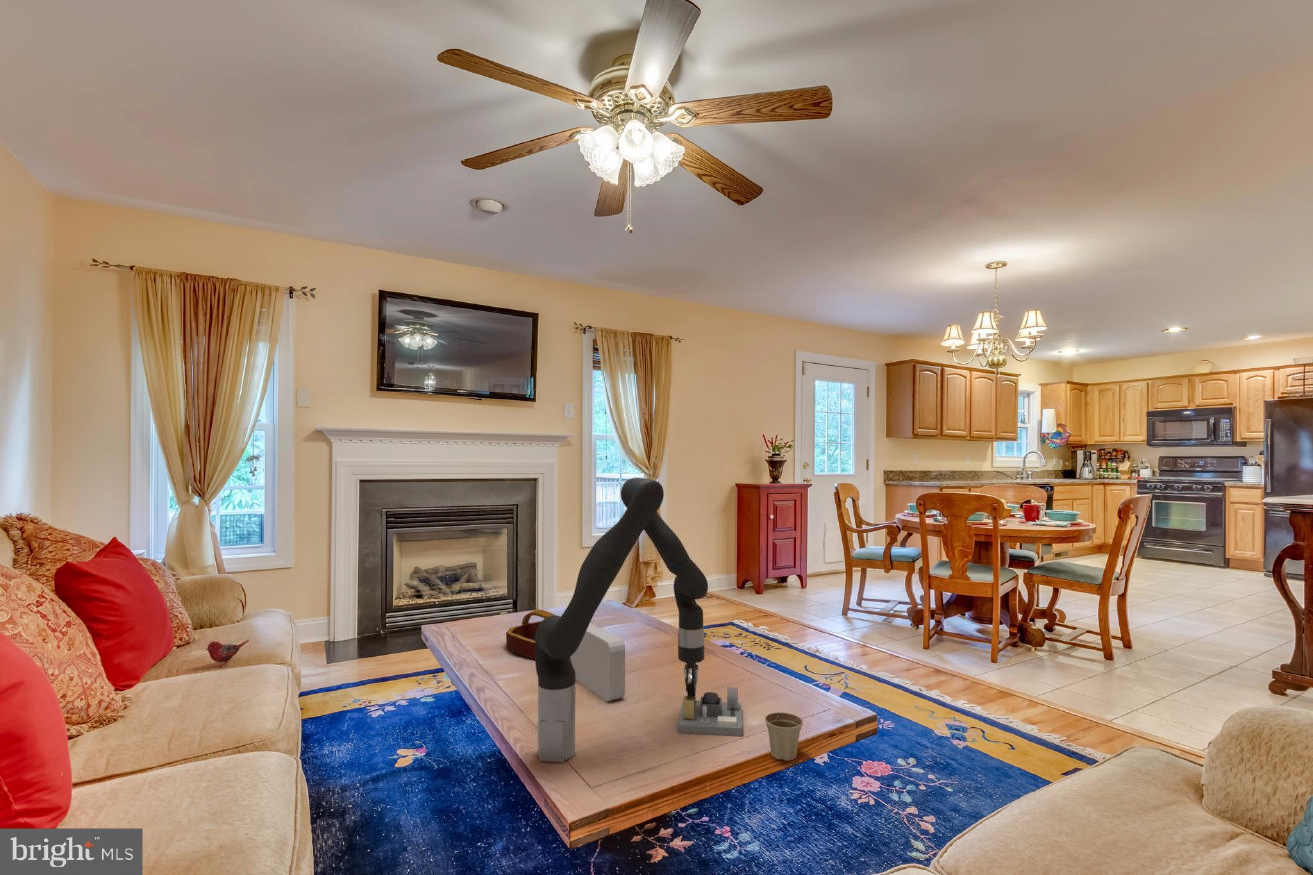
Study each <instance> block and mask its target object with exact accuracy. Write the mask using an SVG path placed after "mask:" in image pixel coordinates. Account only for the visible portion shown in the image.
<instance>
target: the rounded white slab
mask: <svg viewBox="0 0 1313 875" xmlns="http://www.w3.org/2000/svg"><path fill="white" fill-rule="evenodd" d="M570 658H571V662H572V665H573V668H574V670H575V674H576V681H577V682H578V683H579V684H581V685H582V686H584V687H585V688H586V689H588V690H589V691H590V692H592V693H593V694H594V695H596V696H597V697H599V698H601V699H602V700H603V701H605V702H611V701H615V700H620V699H623V698H624V697H625V695H626V645H625V642H624V640H623V639H622V638H621V637H619V636H618V635H615V634H613V633H611V632H609V631H608V630H605V629H603V628H601V627H599V626H597V625H595V624H593V623H591V622H590V624H589V626H588V628H587V630H586V633H585V635H584V637H583V639H582V641H581V643H580V645H579V647H578V649H577V650H576V652H575V653H574V654H573V655H572V656H571V657H570Z"/></svg>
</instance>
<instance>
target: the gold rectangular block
mask: <svg viewBox="0 0 1313 875" xmlns="http://www.w3.org/2000/svg"><path fill="white" fill-rule="evenodd" d="M682 702H683V719H694V696H687V695H683V697H682Z"/></svg>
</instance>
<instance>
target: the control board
mask: <svg viewBox="0 0 1313 875" xmlns="http://www.w3.org/2000/svg"><path fill="white" fill-rule="evenodd" d="M742 714H743V711H742V702H739V701H738V709H727V701H722V697H721V696H720V697H719V696H718V705H711V704H704V696H700V700H696V702H695V705H694V719H683V701H682V703H681V708H680V713H679V717H678V718H679V719H678V724H677V732H678V733H680V734H697V735H698V734H699V735H716V736H718V735H719V736H734V737H743V717H742Z"/></svg>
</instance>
